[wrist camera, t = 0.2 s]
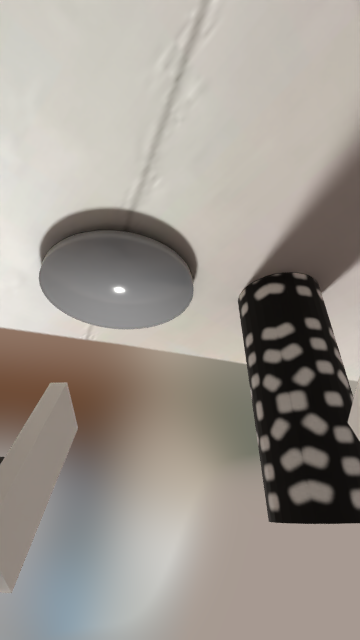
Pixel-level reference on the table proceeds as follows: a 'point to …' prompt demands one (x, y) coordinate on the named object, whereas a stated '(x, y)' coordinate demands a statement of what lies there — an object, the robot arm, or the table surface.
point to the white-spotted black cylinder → (300, 403)
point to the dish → (116, 279)
